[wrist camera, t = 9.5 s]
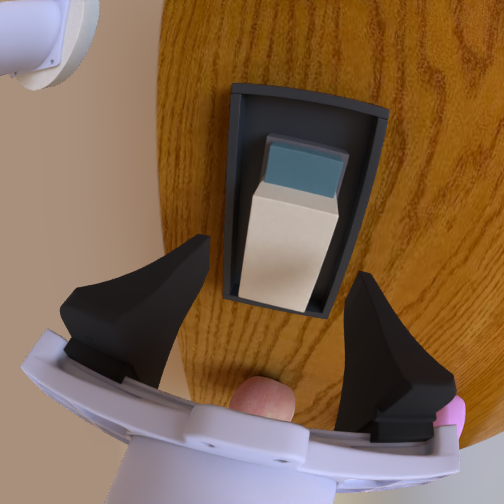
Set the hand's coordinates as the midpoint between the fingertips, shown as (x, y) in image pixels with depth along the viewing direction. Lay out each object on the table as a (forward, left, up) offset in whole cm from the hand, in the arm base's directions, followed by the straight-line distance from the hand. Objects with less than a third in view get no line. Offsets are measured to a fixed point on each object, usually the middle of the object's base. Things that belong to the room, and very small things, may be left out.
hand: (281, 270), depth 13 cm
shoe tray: (0, 0, -7) cm, 7 cm away
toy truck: (0, 0, -7) cm, 7 cm away
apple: (+4, -23, -7) cm, 25 cm away
